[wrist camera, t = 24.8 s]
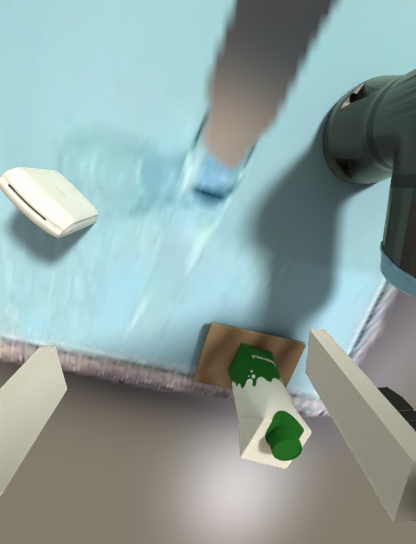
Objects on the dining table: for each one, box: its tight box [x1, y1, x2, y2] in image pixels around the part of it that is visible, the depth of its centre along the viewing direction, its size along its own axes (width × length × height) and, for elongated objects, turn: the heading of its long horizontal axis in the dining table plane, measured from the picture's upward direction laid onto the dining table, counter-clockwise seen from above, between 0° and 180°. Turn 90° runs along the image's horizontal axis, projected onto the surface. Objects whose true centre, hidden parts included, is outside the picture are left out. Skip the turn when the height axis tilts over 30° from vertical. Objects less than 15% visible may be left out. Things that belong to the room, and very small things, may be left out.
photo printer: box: [0, 167, 99, 238], centre depth 37 cm, size 10×4×12 cm, turn 40°
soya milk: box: [228, 343, 311, 469], centre depth 43 cm, size 9×9×20 cm
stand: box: [194, 322, 306, 388], centre depth 54 cm, size 20×14×3 cm
